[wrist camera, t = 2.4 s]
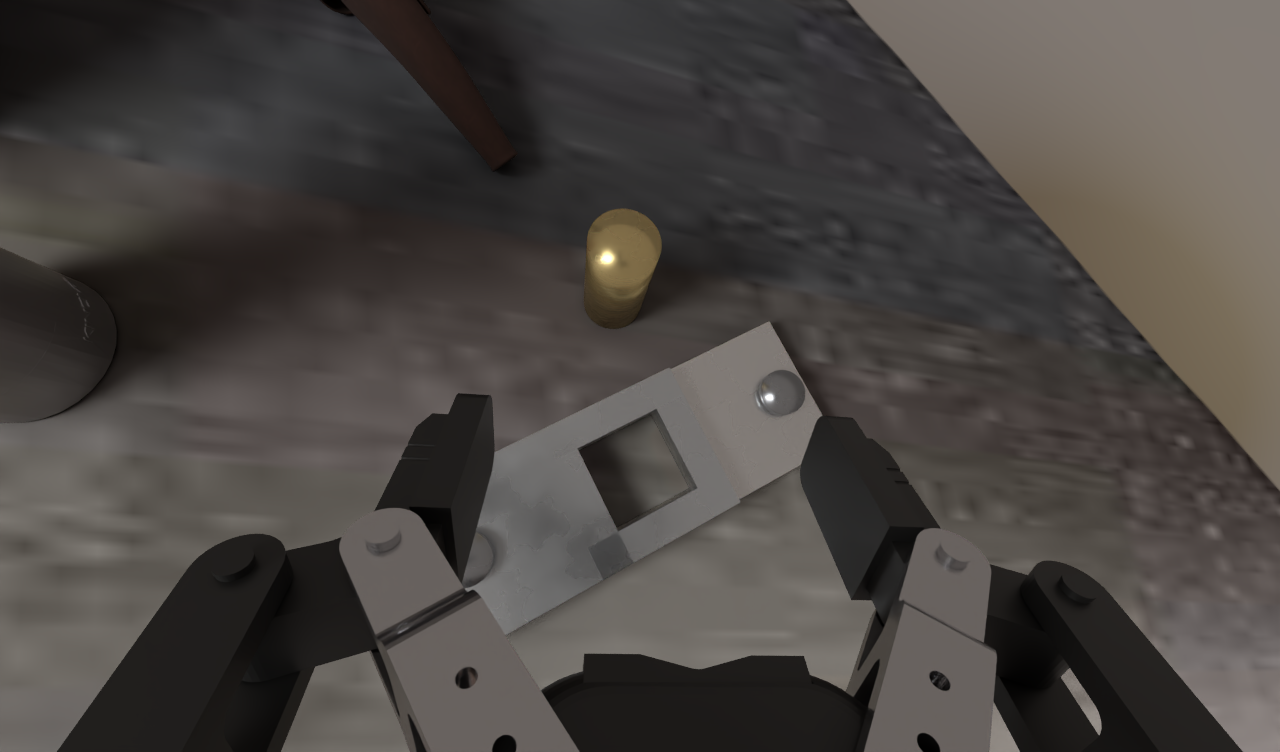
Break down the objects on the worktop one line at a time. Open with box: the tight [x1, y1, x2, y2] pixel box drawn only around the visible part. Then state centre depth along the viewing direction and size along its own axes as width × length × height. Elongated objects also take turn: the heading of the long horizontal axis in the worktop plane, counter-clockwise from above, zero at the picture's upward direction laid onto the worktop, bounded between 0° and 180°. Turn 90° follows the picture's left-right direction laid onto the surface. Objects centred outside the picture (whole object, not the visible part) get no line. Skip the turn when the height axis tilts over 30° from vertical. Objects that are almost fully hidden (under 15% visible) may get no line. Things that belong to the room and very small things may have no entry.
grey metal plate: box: [462, 322, 823, 635], centre depth 33 cm, size 26×10×3 cm, turn 118°
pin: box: [584, 209, 662, 329], centre depth 32 cm, size 4×4×9 cm
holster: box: [320, 0, 518, 171], centre depth 37 cm, size 5×16×25 cm
